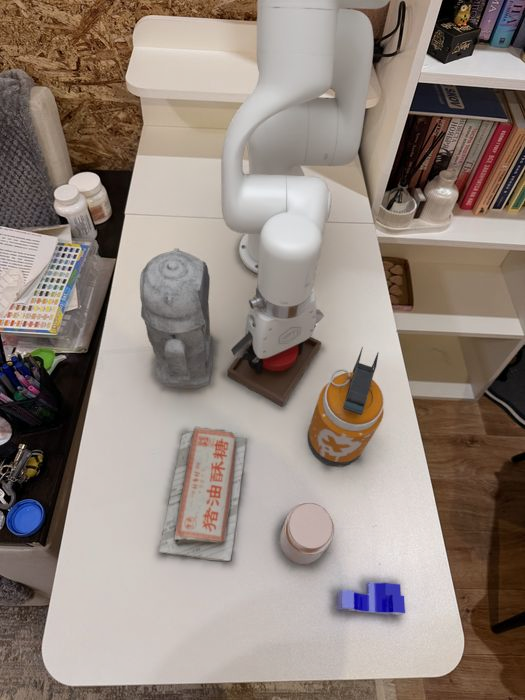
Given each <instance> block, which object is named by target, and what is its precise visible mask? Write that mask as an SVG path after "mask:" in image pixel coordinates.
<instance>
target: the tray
mask: <svg viewBox="0 0 525 700" xmlns="http://www.w3.org/2000/svg"><path fill="white" fill-rule="evenodd" d="M321 345H322V341H320V340H318V339H316V338H314V337H313V336H311V337H310V338H308V339H307V340H305V341H304V344H303V349H302V353H301V355H299V356H297V360H296V361H295V363H294V365H292V366H291V367H290V368H288V369H285V370H282V371H272V370H267V369H266V368H264V367H262V372H261V373H260V374H258V373H257V372H256V370H255V369H251V367H250V366H249V363H248V360H244V359H243V358H238V357H235V359H234V361H233V362H232V363H231V365H230V366H229V367H228V369H227V377H229V378H230V379H232V380H233V381H236V382H237V383H238V384H241V385H243V386H244V387H246V388H248V389H250V390H252V392H255V393H257V394H259V396H261V397H263V398H265V399H267V400H269V401H271V402H273V403H274V404H276V405H278V406H280V407H284V405H285V403H287V401H288V399H289V397H291V395H292V393H293V391H294V390H295V388H296V386H297V385H298V383H299V382H300V381H301V379H302V377H303V376H304V374H305V373H306V371H307V370H308V368H309V366H310V364H311V363H312V361H313V360H314V359H315V357H316V355H317V354H318V352H319V350H320V349H321Z"/></svg>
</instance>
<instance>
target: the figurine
mask: <svg viewBox="0 0 525 700" xmlns="http://www.w3.org/2000/svg"><path fill="white" fill-rule="evenodd" d="M210 282H211V281H210V273H209V268H208V265H207V263H206V262H205V261H204V260H202V259H200V258H198V257H196V256H194V255H193V254H190V253H189V252H186V251H182V250H180V249H179V248H177V247H175V248H173V250H171V251H166V252H163V253H160V254H157V255H156V256H154V257H152V258H151V259H150V260H149V261H148V262H147V263H146V265H145V266H144V268H143V269H142V271H141V273H140V277H139V295H140V296H139V298H140V302H141V309H140V317H141V318H142V320H143V321H144V324H145V329H146V334H147V338H148V341H149V343H150V345H151V347H152V350H153V355H154V356H155V359H156V364H155V368H154V373H155V376H156V378H157V379H158V381H159V382H160V383H161V384H162V385H164V387H167V388H180V389H181V388H182V389H201V388H203V387H206V386H208V385H211V377H212V367H213V357H214V350H215V348H214V347H215V340H214V337H213V336H212V335H211V327H210V325H211V324H210V323H211V321H210V304H209V299H210V297H209V296H210V285H211V284H210Z"/></svg>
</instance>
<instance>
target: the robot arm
mask: <svg viewBox="0 0 525 700" xmlns="http://www.w3.org/2000/svg"><path fill="white" fill-rule="evenodd" d="M390 2H391V0H257V5H256V6H257V10H256V11H257V12H256V65H257V71H258V78H257V83H256V86H255V87H254V89H253V91H252V92H251V93H250V94H249V96H248V97H247V98H246V99H245V100H244V102H243V103H242V104H241V105H240V107H239V108H238V110H237V111H236V112H235V114H234V116H233V117H232V119H231V120H230V123H229V124H228V127H227V130H226V133H225V135H224V139H223V142H222V143H223V144H222V148H221V158H220V159H221V161H220V163H221V164H220V171H221V172H220V174H221V175H220V176H221V177H220V181H221V182H220V190H221V191H220V193H221V195H220V199H221V200H220V201H221V203H220V204H221V214H222V219H223V222H224V223H225V225H226V227H227V228H228V229H229V230H231V231H232V232H234V233H237V234H244V235H243V237H242V238H241V239H240V242H239V248H238V249H239V250H238V251H239V257H240V259H241V260H240V261H242V263H243V264H244V266H245V267H246V268H248V270H250V271H251V272H253V273H256V274H257V283H256V287H255V295H254V297H252V298H250V299H249V300H248V305H249V309H248V313H247V317H246V323H245V335H244V337H242V338H241V339H240V340H239V341H238V342H237V343H236V344H235V345H233V346H232V348H231V349H230V352H231V354H232V355H233V356H234V358H237V357H238V358H243V359H244V360H248V363H249V366H250V367H251V369H255V370H256V372H257V373H258V374H260V373H261V372H262V366H263V361H262V359H263V358H268V357H270V356H273V355H275V354H277V353H280V352H282V351H284V350H286V349H288V348H291V347H293V346H295V345H297V344H298V351H299V352H298V356H299V355H301V353H302V349H303V344H304V341H305V340H307V339H308V338H310V337H313V335H314V331H315V329H316V327H317V325H316V324H319V322H321V320H322V319H324V317H325V315H324V313H323V312H322V310H321V309H318V308H317V301H316V296H315V292H314V291H313V288H314V283H315V278H316V274H317V269H318V264H319V260H320V259H319V258H320V254H321V250H322V244H323V236H324V232H325V229H326V223H327V222H328V220H329V217H330V214H331V208H332V191H331V190H330V188H329V185H328V182H326V180H324V179H323V178H321V177H318V176H314V175H313V176H312V175H305V173H304V170H303V168H302V167H305V166H307V167H308V166H309V167H310V166H311V167H342V166H343V167H344V166H347V165H350V164H351V163H352V162H354V160H355V159H356V157H357V155H358V153H359V149H360V146H361V141H362V135H363V129H364V122H365V115H366V108H367V101H368V94H369V87H370V80H371V73H372V67H373V57H374V43H375V42H374V31H373V30H374V29H373V25H372V23H371V20H370V18H369V17H368V16H367V15H366V14H365V13H363V12H362V11H360V10H357V9H363V10H364V9H366V10H379V9H381V8H384V7H385V6H387V5H388V4H389V3H390ZM329 90H332V91H333V92H334V97H322V96H323V95H324V94H326V93H327V92H328V91H329ZM246 149H247V156H248V157H247V159H248V173H244V170H243V167H244V156H245V151H246Z"/></svg>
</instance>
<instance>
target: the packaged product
mask: <svg viewBox="0 0 525 700" xmlns="http://www.w3.org/2000/svg"><path fill="white" fill-rule="evenodd" d="M247 440H248V438H247V437H241V436H236V435H234V433H233V432H232V431H227V430H225V429H218V428H217V429H212V428H208V427H200V426H197V425H196V426H194V428H193V430H185V431H184V432H182V434H181V439H180V445H179V449H178V453H177V459H176V466H175V470H174V474H173V480H172V485H171V489H170V494H169V500H168V505H167V509H166V515H165V520H164V525H163V531H162V536H161V541H160V544H159V545H160V546H159V550H158V552H159V553H163V554H165V555H166V554H167V555H171V556H185V557H190V558H197V559H203V560H209V561H221V562H222V561H223V562H231V560H232V555H233V554H232V553H233V547H234V540H235V534H236V526H237V525H236V524H237V517H238V516H237V515H238V507H239V499H240V493H241V487H242V486H241V485H242V477H243V476H242V474H243V471H244V470H243V469H244V464H245V463H244V462H245V451H246V445H247Z"/></svg>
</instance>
